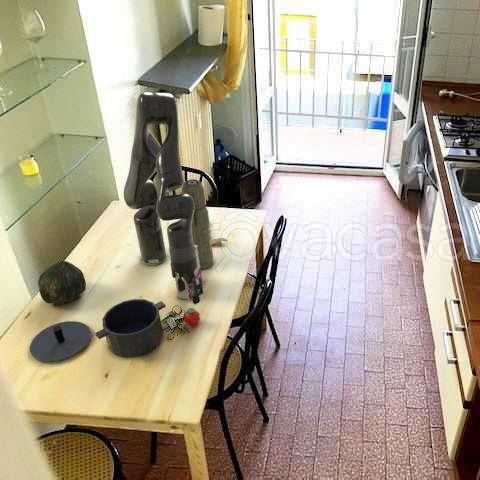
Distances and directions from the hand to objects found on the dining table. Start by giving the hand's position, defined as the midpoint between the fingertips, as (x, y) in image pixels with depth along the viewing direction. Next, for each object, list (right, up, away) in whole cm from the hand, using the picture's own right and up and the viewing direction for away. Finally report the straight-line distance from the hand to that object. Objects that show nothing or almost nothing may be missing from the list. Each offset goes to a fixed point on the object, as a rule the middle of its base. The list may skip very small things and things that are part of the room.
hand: (189, 296), depth 163 cm
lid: (-39, -14, -3) cm, 42 cm away
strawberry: (0, -10, +6) cm, 12 cm away
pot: (-17, -14, 0) cm, 22 cm away
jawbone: (-2, +20, +53) cm, 57 cm away
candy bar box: (-5, 0, +21) cm, 22 cm away
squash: (-48, -2, +17) cm, 50 cm away
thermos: (-4, +9, +35) cm, 36 cm away
